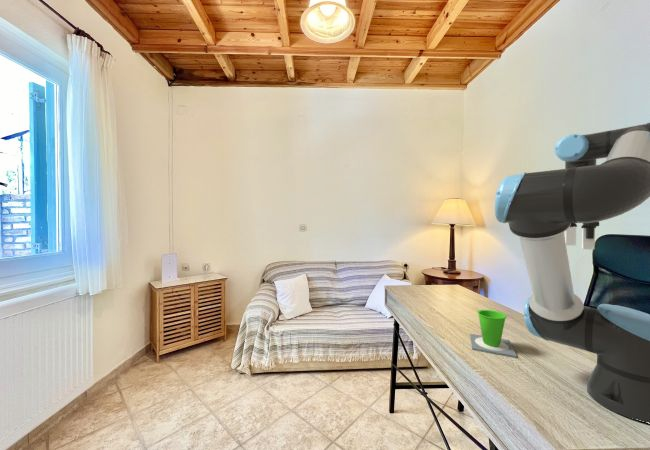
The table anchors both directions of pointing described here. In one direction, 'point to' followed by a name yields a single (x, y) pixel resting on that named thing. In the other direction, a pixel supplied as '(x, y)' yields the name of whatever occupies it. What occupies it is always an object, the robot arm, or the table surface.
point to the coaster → (502, 349)
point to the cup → (491, 326)
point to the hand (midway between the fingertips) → (578, 247)
